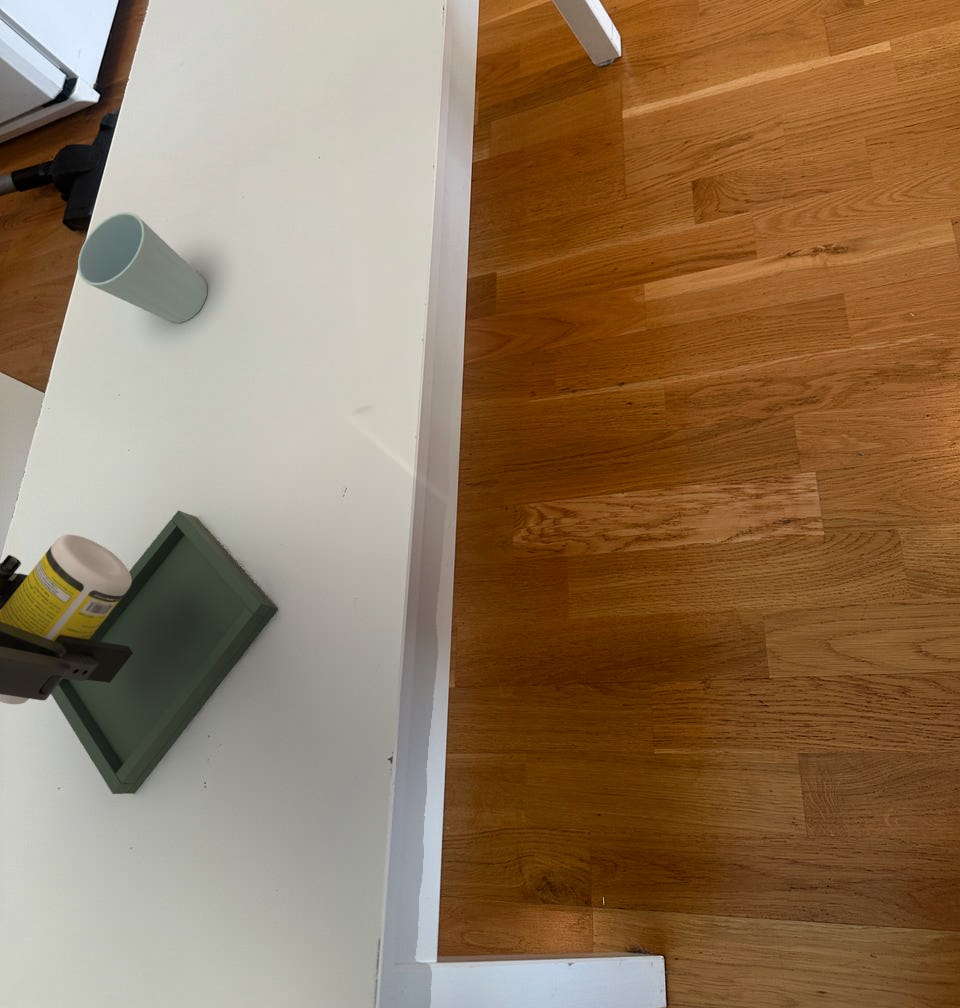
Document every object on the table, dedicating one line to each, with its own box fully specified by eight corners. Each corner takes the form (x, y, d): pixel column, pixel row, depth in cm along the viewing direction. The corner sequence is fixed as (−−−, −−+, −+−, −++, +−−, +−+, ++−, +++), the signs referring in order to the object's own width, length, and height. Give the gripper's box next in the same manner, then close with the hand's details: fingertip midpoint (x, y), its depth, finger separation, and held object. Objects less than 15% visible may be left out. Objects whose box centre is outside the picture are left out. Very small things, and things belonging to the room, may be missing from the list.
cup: (143, 309, 91) (65, 260, 82) (192, 254, 91) (119, 199, 83) (177, 346, 87) (99, 298, 78) (229, 288, 87) (156, 234, 79)
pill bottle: (62, 520, 65) (-37, 641, 64) (57, 554, 59) (-51, 687, 58) (134, 561, 67) (41, 678, 66) (137, 597, 62) (34, 725, 61)
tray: (134, 793, 69) (112, 794, 67) (63, 682, 76) (41, 680, 74) (278, 608, 70) (261, 603, 68) (195, 516, 77) (178, 509, 75)
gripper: (-121, 634, 43) (193, 678, 62) (-221, 430, 53) (75, 522, 72) (-225, 761, 42) (125, 766, 61) (-305, 529, 52) (15, 596, 72)
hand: (97, 634), depth 67 cm, fingers closed on pill bottle, 6 cm apart
